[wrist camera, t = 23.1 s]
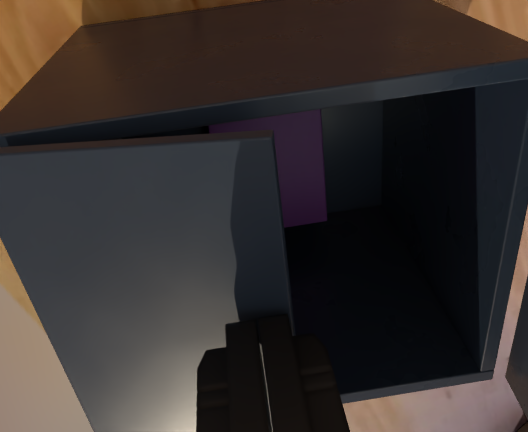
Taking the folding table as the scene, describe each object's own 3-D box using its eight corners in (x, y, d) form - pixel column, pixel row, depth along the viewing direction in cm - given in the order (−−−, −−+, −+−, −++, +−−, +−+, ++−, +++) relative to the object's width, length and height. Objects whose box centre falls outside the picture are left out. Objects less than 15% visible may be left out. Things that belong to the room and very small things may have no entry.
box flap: (113, 452, 16) (108, 464, 16) (-29, 147, 11) (-40, 156, 10) (308, 458, 15) (308, 470, 15) (273, 128, 10) (272, 137, 9)
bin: (144, 243, 26) (70, 696, 11) (79, 25, 21) (-249, 371, 5) (402, 204, 27) (657, 590, 12) (412, -21, 21) (948, 184, 6)
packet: (314, 189, 25) (327, 221, 23) (226, 203, 25) (228, 236, 23) (304, 47, 21) (318, 67, 19) (199, 62, 21) (200, 84, 19)
